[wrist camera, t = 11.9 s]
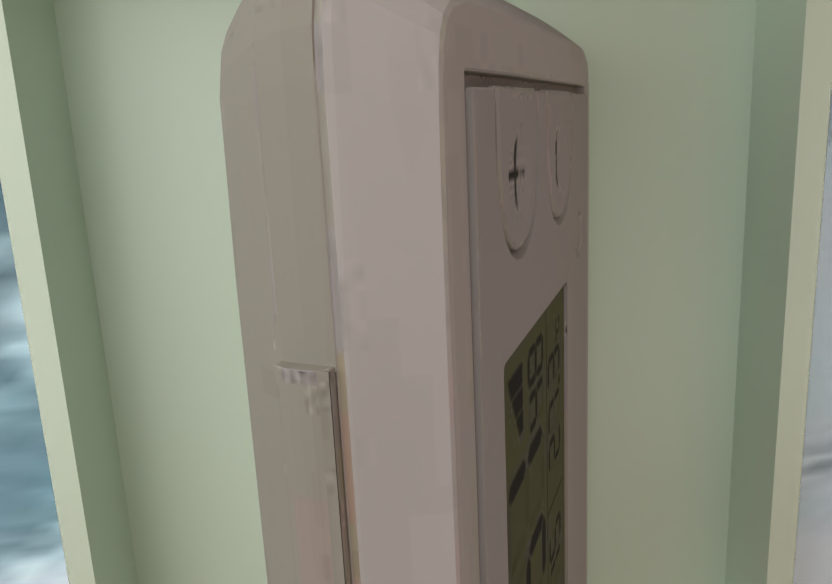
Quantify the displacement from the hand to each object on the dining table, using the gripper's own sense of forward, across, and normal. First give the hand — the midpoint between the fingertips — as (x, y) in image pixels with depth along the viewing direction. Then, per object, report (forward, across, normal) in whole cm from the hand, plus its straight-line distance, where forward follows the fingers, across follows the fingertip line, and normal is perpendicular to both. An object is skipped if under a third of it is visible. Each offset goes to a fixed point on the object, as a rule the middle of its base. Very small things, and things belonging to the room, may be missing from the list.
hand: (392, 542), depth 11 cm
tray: (+8, +1, 0) cm, 9 cm away
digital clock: (+8, +2, 0) cm, 8 cm away
